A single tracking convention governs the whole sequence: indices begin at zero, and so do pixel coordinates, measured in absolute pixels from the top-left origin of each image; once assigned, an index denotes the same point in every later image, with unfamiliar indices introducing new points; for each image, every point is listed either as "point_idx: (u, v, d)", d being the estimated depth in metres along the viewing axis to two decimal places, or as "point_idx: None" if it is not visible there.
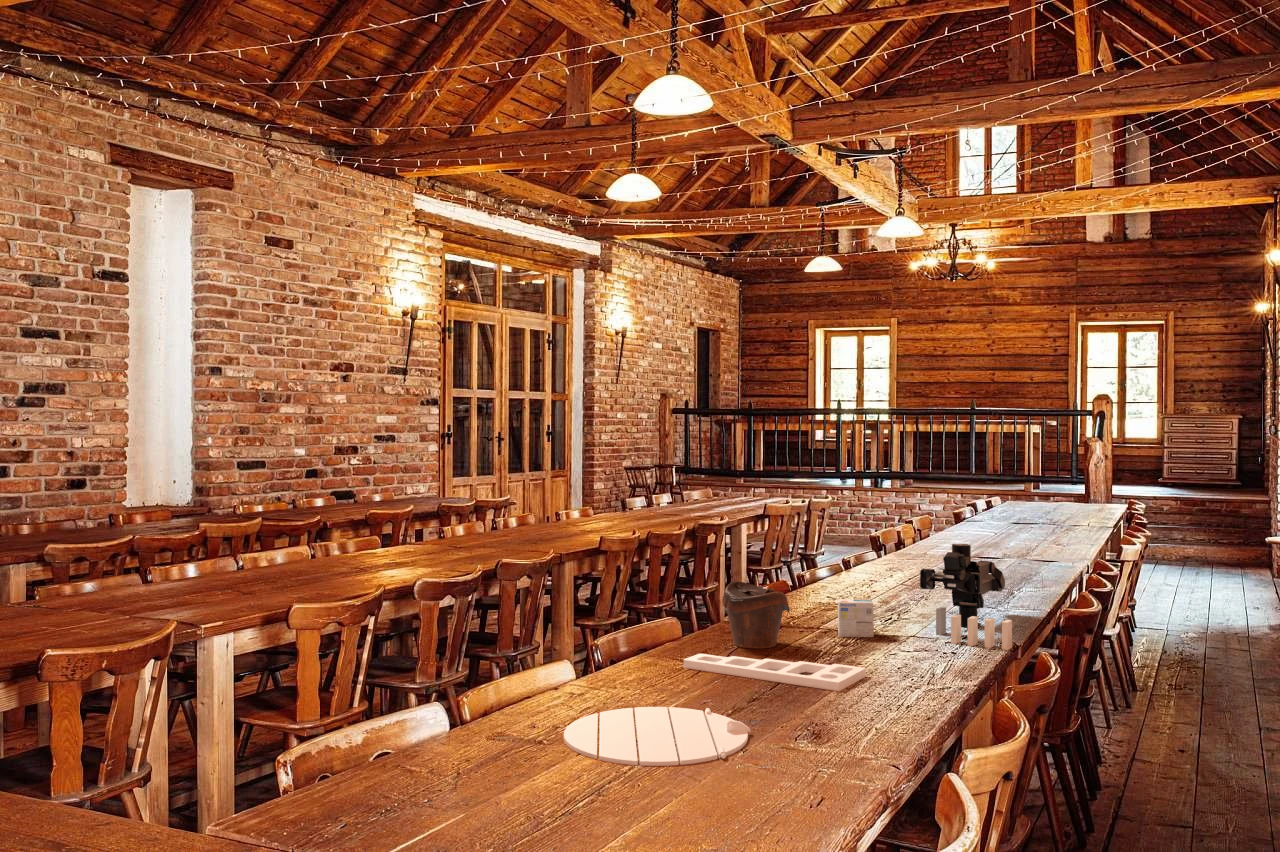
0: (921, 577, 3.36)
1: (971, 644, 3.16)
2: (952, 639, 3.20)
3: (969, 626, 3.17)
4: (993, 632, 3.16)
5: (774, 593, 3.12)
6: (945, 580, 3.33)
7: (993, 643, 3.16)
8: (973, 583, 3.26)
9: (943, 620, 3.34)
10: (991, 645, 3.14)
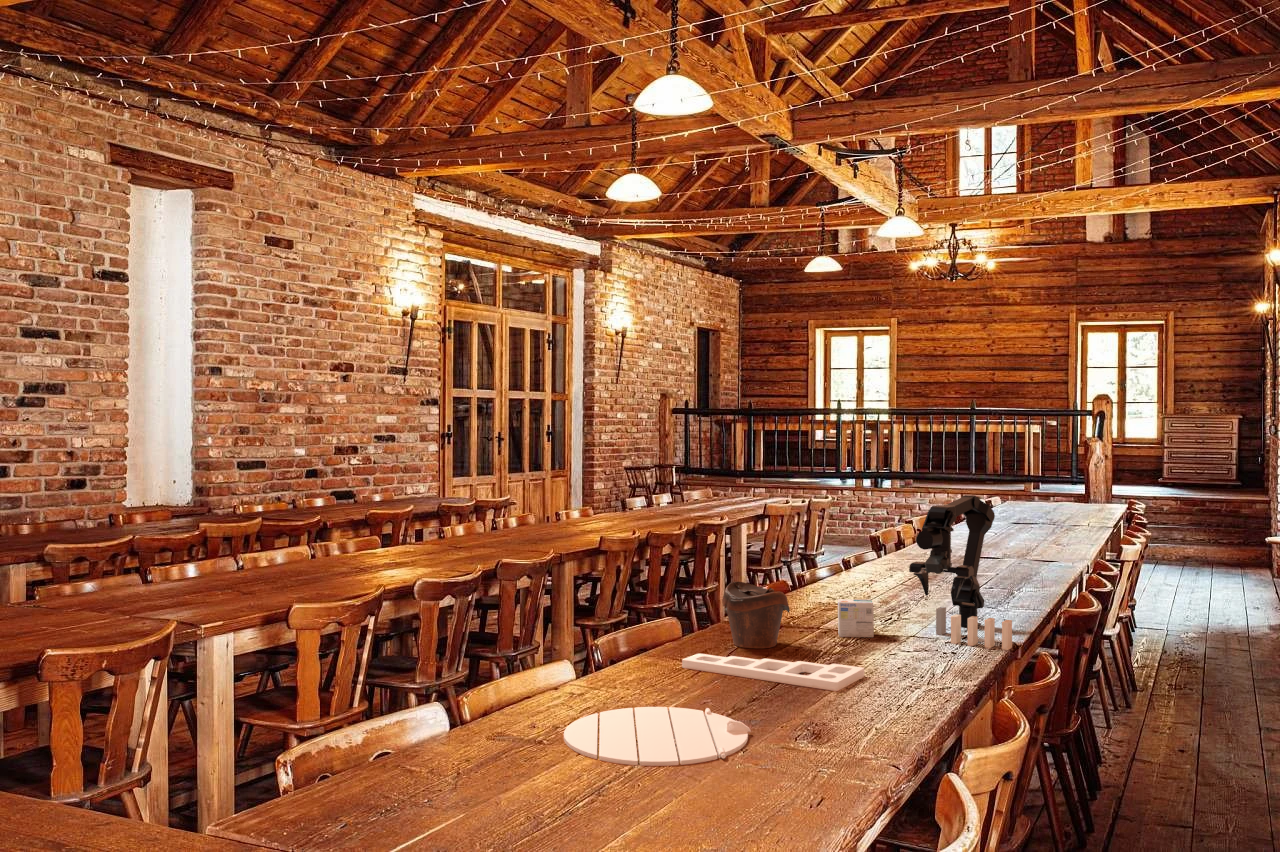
0: None
1: (971, 644, 3.16)
2: (952, 639, 3.20)
3: (969, 626, 3.17)
4: (993, 632, 3.16)
5: (774, 593, 3.12)
6: None
7: (993, 643, 3.16)
8: None
9: (943, 620, 3.34)
10: (991, 645, 3.14)
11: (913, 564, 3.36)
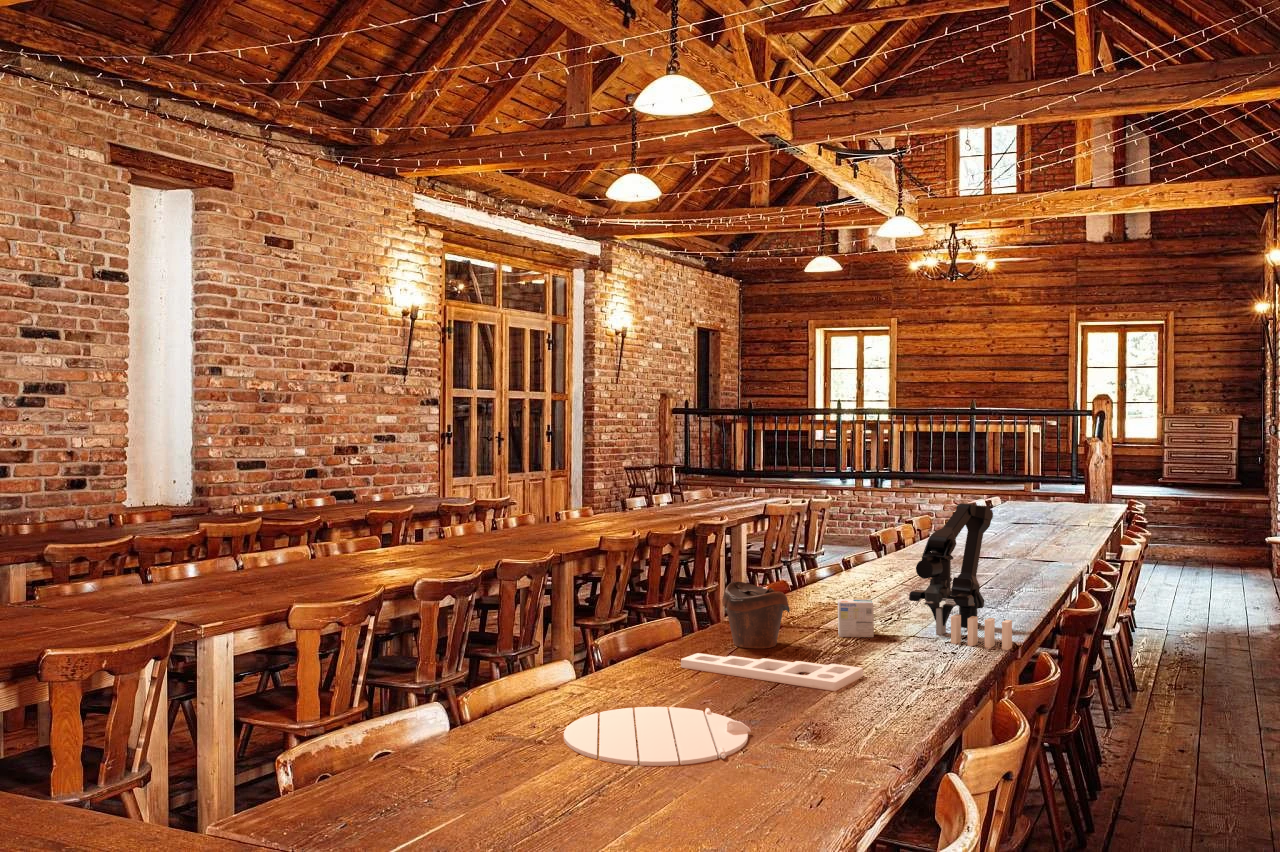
0: None
1: (971, 644, 3.16)
2: (952, 639, 3.20)
3: (969, 626, 3.17)
4: (993, 632, 3.16)
5: (774, 593, 3.12)
6: None
7: (993, 643, 3.16)
8: None
9: None
10: (991, 645, 3.14)
11: (913, 592, 3.36)
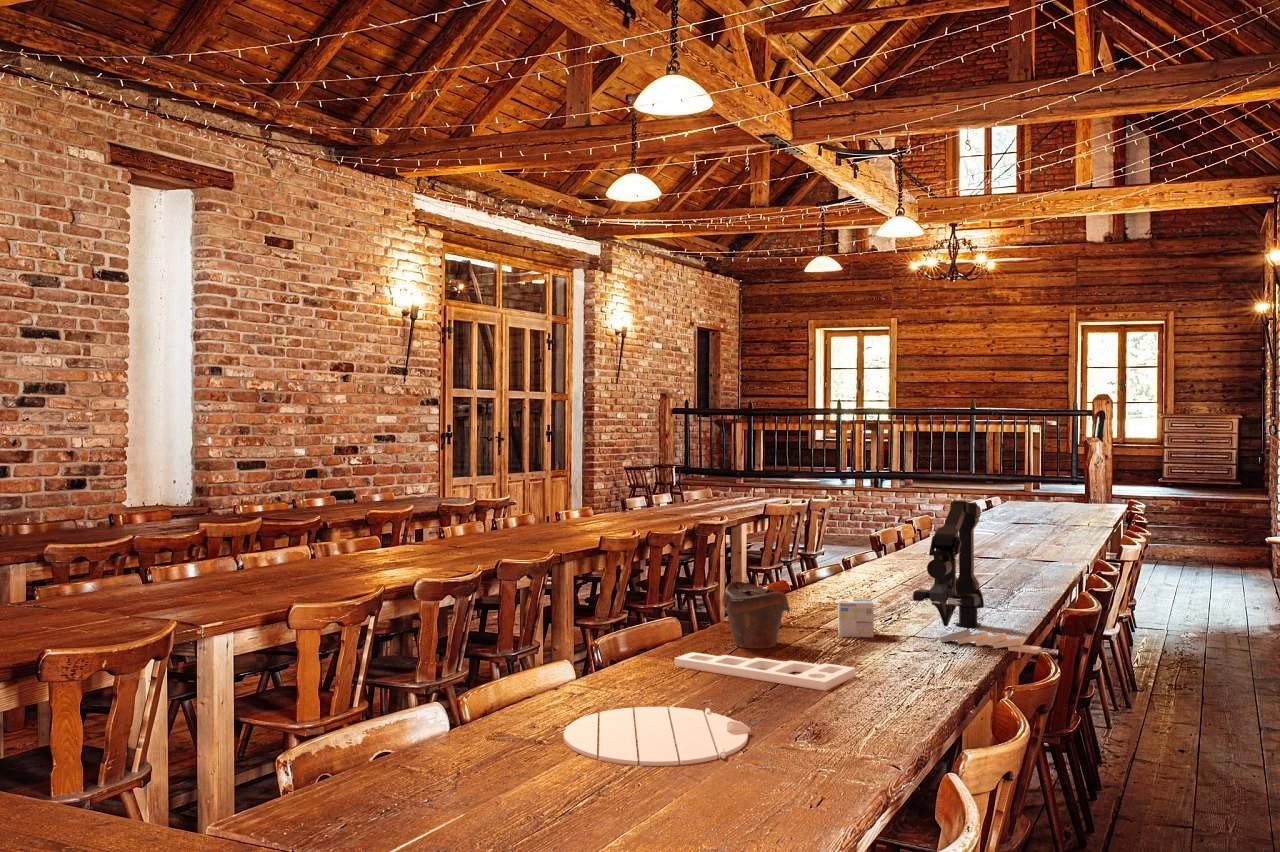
0: None
1: (977, 644, 3.15)
2: (961, 639, 3.18)
3: (994, 638, 3.13)
4: None
5: (774, 593, 3.12)
6: None
7: None
8: None
9: None
10: None
11: (917, 592, 3.25)
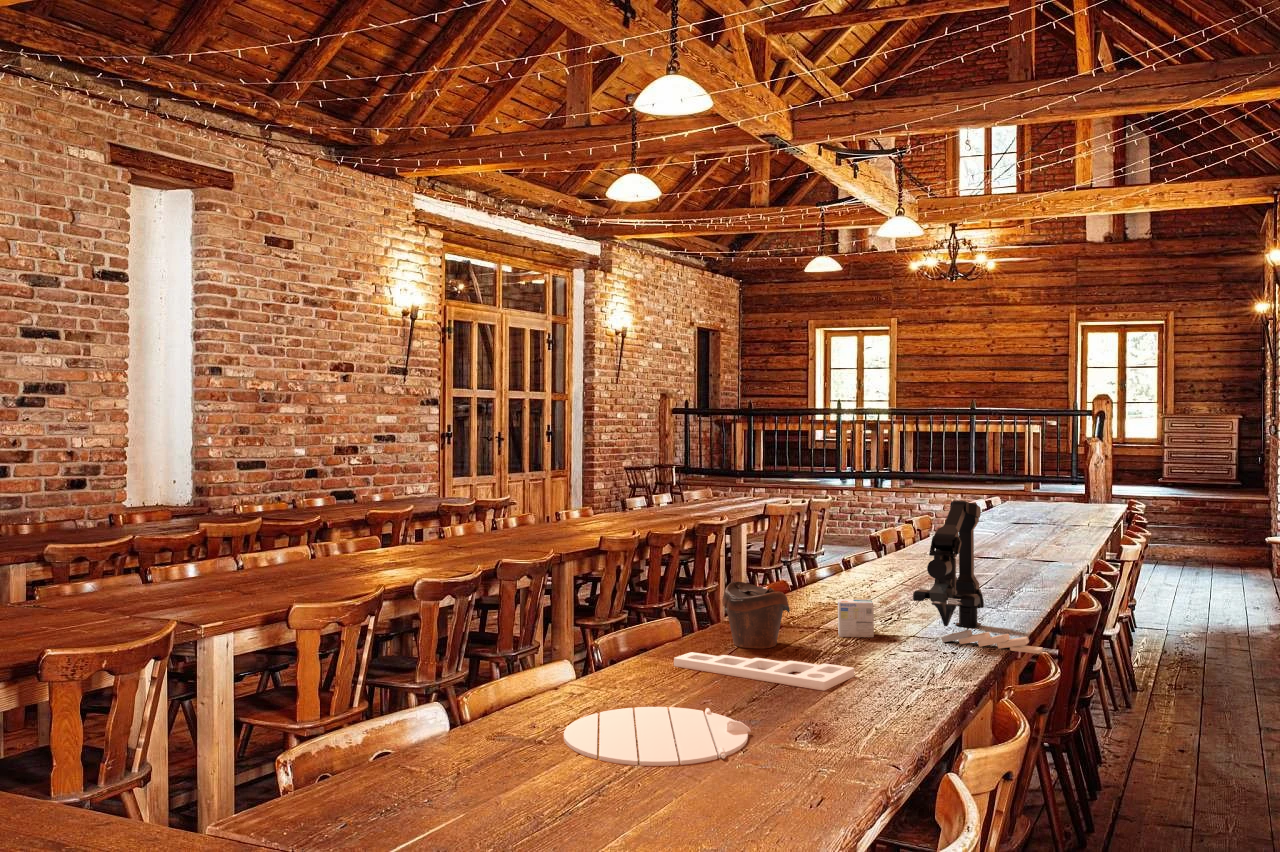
0: None
1: (980, 645, 3.15)
2: (963, 639, 3.18)
3: (996, 639, 3.12)
4: None
5: (774, 593, 3.12)
6: None
7: None
8: None
9: None
10: None
11: (917, 592, 3.25)
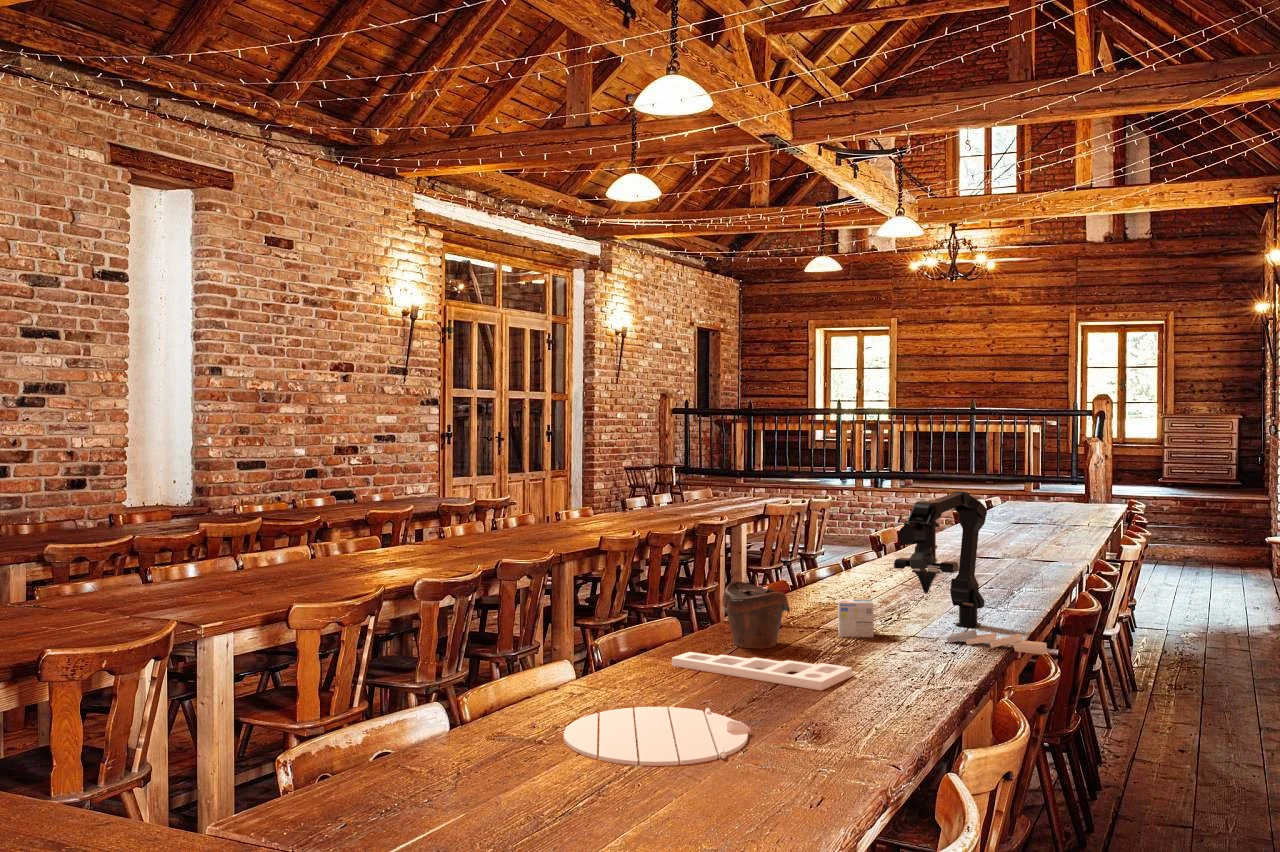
0: None
1: (992, 646, 3.13)
2: (970, 640, 3.18)
3: (1008, 639, 3.11)
4: None
5: (774, 593, 3.12)
6: None
7: None
8: None
9: None
10: None
11: (898, 560, 3.34)
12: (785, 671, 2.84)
